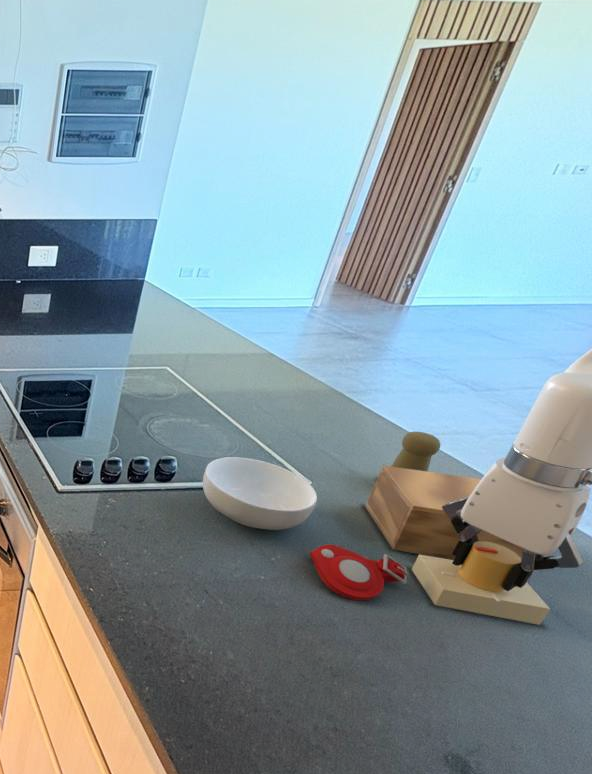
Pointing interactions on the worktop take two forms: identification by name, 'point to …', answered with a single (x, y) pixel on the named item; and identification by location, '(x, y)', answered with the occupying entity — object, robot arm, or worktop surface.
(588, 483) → the robot arm
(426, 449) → the cork
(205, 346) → the worktop surface
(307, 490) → the cereal bowl
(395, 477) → the hinged box cover
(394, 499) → the chest
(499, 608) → the lock plate
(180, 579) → the worktop surface
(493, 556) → the lock knob
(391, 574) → the tracker holder
